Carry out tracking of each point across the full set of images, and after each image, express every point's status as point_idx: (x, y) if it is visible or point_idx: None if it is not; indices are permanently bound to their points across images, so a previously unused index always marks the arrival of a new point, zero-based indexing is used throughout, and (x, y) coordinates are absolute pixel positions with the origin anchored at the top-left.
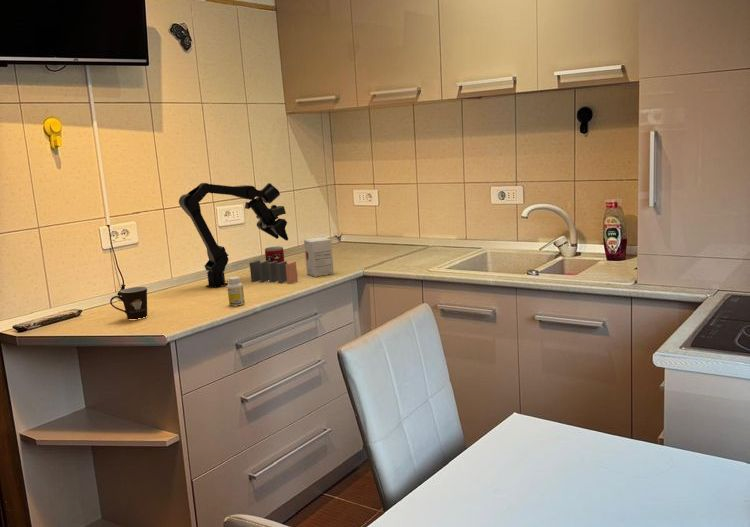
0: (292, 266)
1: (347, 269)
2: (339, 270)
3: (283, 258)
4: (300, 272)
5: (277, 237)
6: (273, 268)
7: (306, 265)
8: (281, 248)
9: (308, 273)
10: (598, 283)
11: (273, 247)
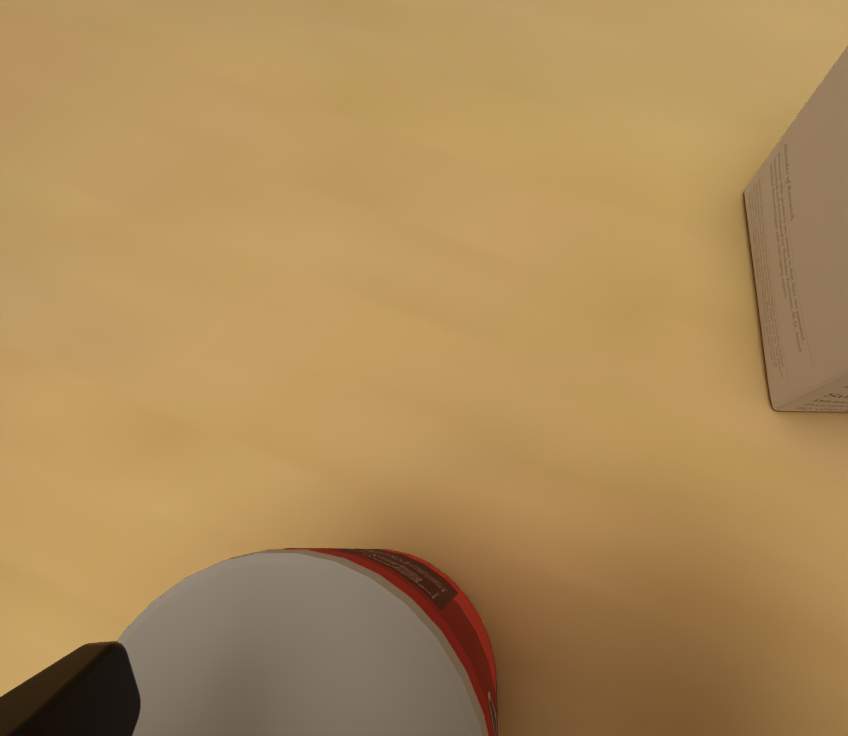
0: None
1: (816, 5)
2: (810, 76)
3: (439, 591)
4: (594, 426)
5: (118, 706)
6: None
7: (842, 385)
8: (446, 648)
9: (843, 410)
10: None
11: None
